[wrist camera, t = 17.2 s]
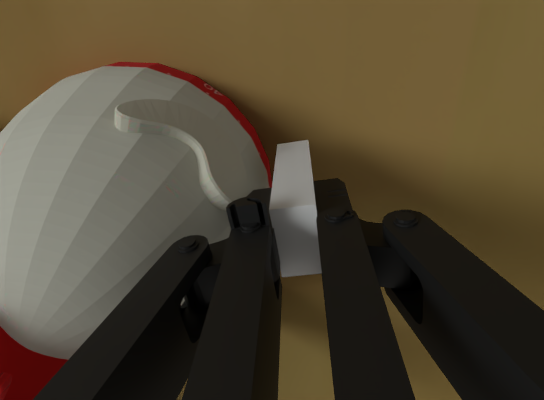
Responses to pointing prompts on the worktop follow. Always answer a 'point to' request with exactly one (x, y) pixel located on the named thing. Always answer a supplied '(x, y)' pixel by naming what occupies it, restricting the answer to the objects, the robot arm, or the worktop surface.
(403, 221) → the robot arm
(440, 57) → the worktop surface
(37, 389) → the kitchen timer
